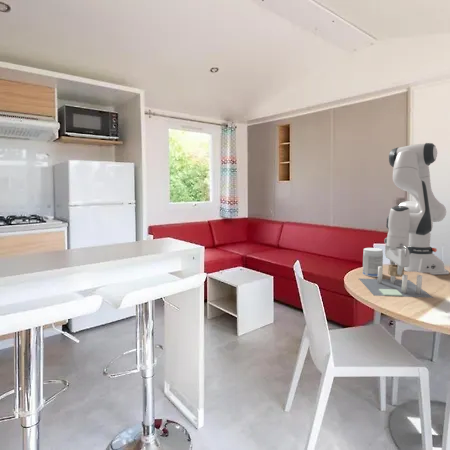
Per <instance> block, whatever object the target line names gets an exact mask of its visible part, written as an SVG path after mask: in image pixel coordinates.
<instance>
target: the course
mask: <svg viewBox="0 0 450 450" xmlns="http://www.w3.org/2000/svg"><path fill="white" fill-rule="evenodd" d="M383 268H384V267H381V266H379V267H378V277H377V278H359V277H358V281H359V280H360V282H361V283H362V285H363V286H364V287H365V288H367V290H368V291H369V293H371V294H372V295H373V296H374V297H375V296H376V297H385V296H384V295H383V294H382V293H381V292H380V291H379V289H396V290H398V291H399V292H400V293H401V294H402V295H403V296H398V297H399V298H400V297H405V298H427V299H428V298H429V299H431V298H432V299H433V298H434V296H432V295H431V294H429V293H427V292H426V291H425V290H423V288H422V287H423V286H422V285H423V275H421V274H417V275H416V284H415V283H414V282H412V281H411V280H410V279H408V274H404V275H402V277H401V279H396V276H391V275H390V279H387V278H385V279H384V278H383V272H384V271H383V270H384V269H383Z"/></svg>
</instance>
